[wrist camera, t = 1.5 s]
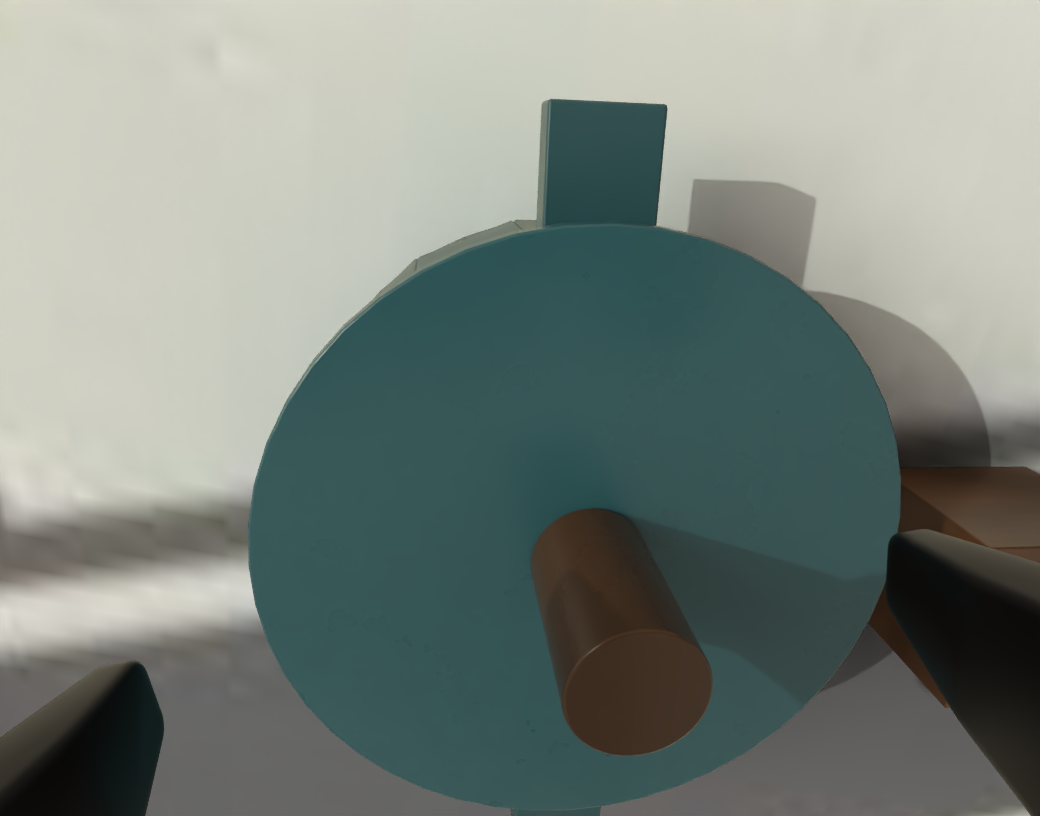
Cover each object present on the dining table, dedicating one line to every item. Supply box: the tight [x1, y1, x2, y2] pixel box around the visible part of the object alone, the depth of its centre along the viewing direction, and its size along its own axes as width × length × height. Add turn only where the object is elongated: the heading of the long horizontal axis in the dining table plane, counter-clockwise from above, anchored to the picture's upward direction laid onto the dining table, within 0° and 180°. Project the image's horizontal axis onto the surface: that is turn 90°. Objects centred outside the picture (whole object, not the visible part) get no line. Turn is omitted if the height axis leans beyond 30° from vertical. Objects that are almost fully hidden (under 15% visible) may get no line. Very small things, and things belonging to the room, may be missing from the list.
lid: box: [248, 221, 901, 811], centre depth 15 cm, size 15×15×6 cm
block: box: [868, 467, 1040, 708], centre depth 22 cm, size 5×5×5 cm
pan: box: [374, 99, 667, 816], centre depth 20 cm, size 14×19×5 cm
